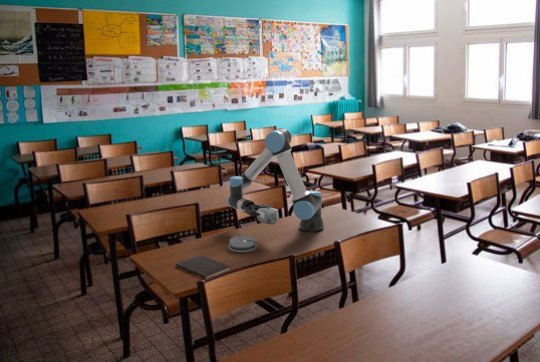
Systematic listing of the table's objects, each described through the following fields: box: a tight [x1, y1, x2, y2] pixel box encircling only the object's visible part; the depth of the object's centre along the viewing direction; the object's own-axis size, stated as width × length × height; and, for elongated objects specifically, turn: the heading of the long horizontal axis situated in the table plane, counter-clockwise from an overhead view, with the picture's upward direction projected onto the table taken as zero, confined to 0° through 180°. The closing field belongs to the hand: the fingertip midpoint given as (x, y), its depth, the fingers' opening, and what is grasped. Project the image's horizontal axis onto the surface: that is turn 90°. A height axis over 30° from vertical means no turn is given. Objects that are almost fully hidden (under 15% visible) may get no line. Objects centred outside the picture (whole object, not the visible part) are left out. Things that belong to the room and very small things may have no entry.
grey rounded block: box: [256, 208, 278, 226], centre depth 292 cm, size 14×10×10 cm
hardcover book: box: [175, 254, 231, 280], centre depth 256 cm, size 16×23×2 cm
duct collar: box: [227, 235, 258, 254], centre depth 283 cm, size 16×16×5 cm
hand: (270, 213), depth 289 cm, fingers closed on grey rounded block, 9 cm apart
